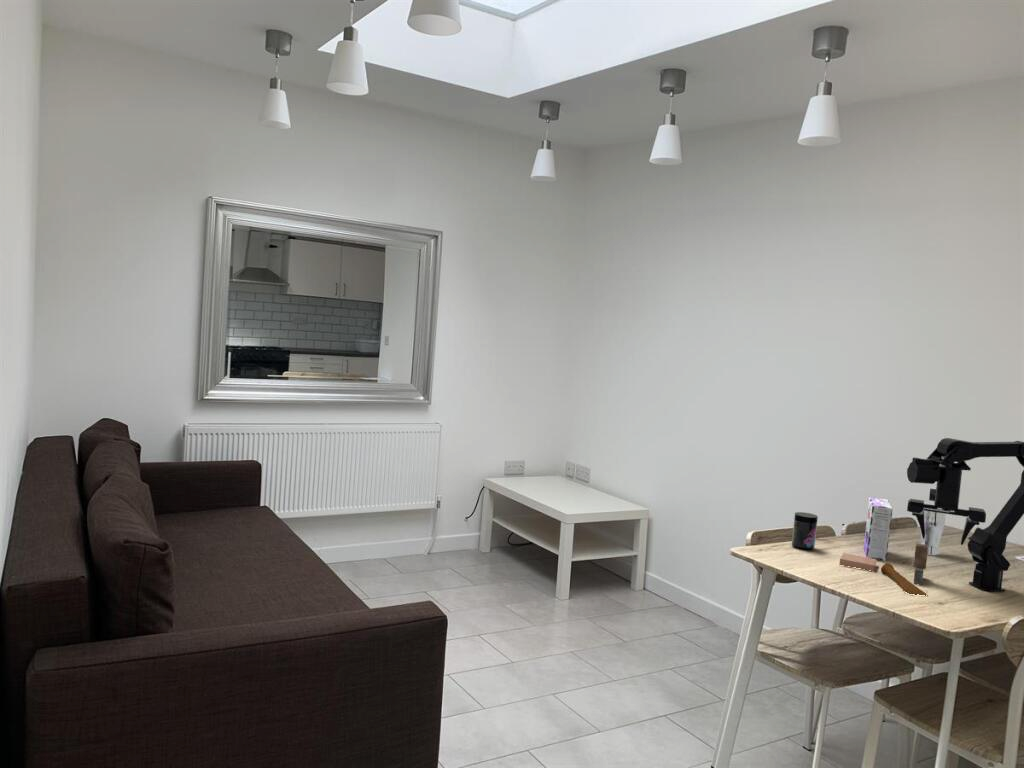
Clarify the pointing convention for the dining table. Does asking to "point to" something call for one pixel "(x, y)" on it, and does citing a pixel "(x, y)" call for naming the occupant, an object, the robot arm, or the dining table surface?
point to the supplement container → (804, 531)
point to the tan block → (857, 561)
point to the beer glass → (933, 531)
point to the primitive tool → (901, 580)
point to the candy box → (877, 528)
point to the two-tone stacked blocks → (920, 562)
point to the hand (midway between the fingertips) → (942, 541)
